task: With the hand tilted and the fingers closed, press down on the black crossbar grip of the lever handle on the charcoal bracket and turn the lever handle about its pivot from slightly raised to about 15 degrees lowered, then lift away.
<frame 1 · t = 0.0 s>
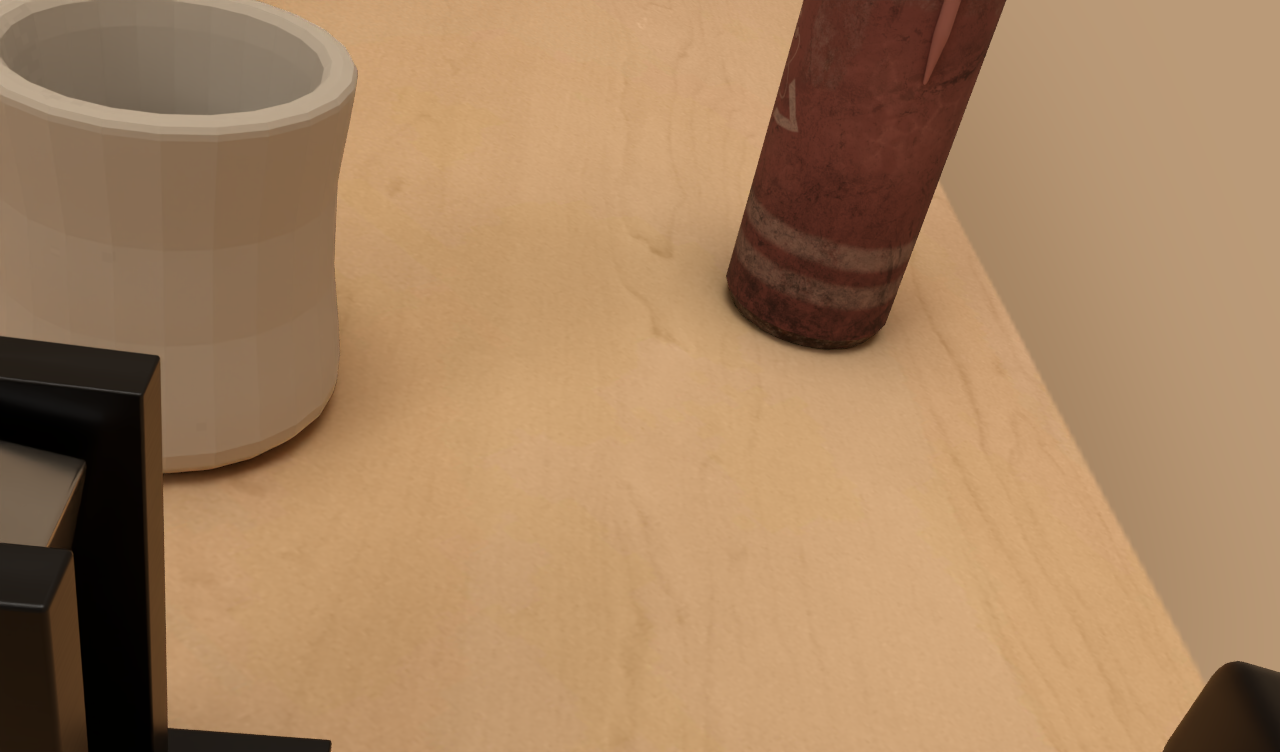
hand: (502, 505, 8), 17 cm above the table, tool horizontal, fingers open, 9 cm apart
mug: (121, 371, 35), on the table
can: (802, 314, 46), on the table
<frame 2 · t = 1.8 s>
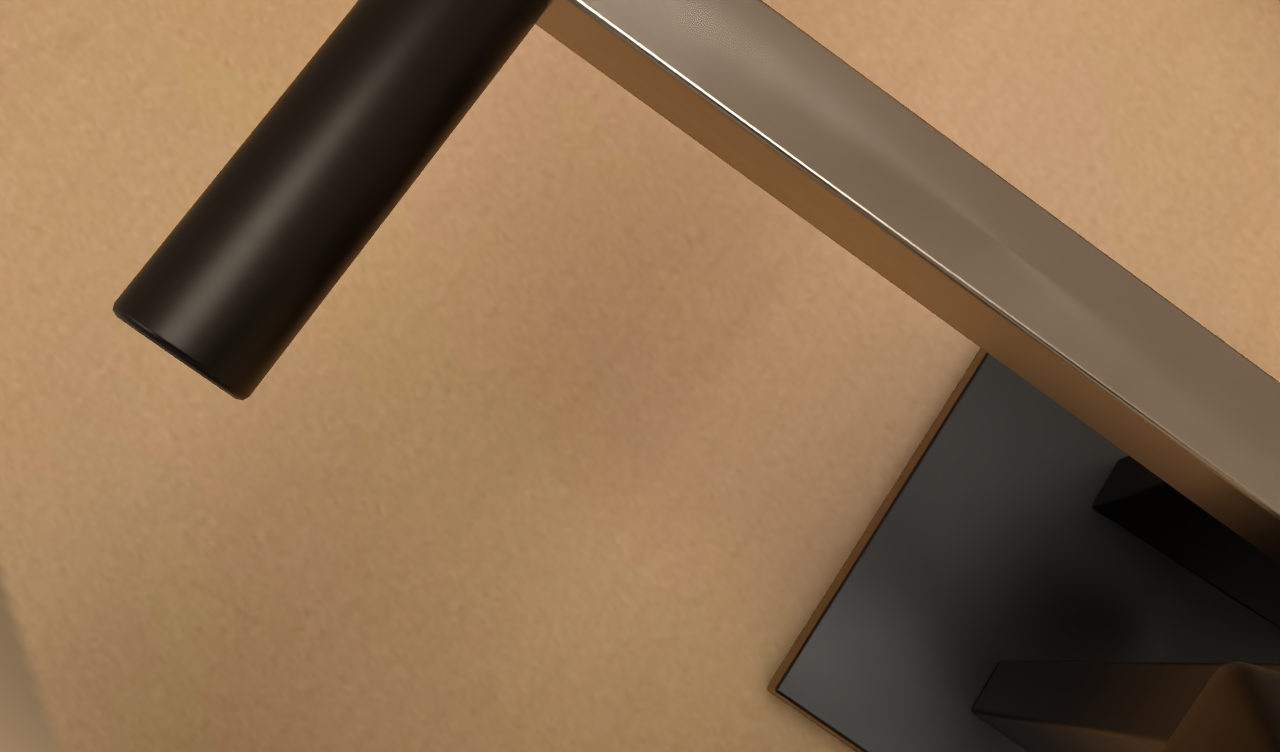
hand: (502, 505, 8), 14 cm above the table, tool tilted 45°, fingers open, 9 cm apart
rod bracket: (1133, 657, 21), on the table
lever handle: (1070, 323, 12), point 10 cm above the table, hinge at 10.0°
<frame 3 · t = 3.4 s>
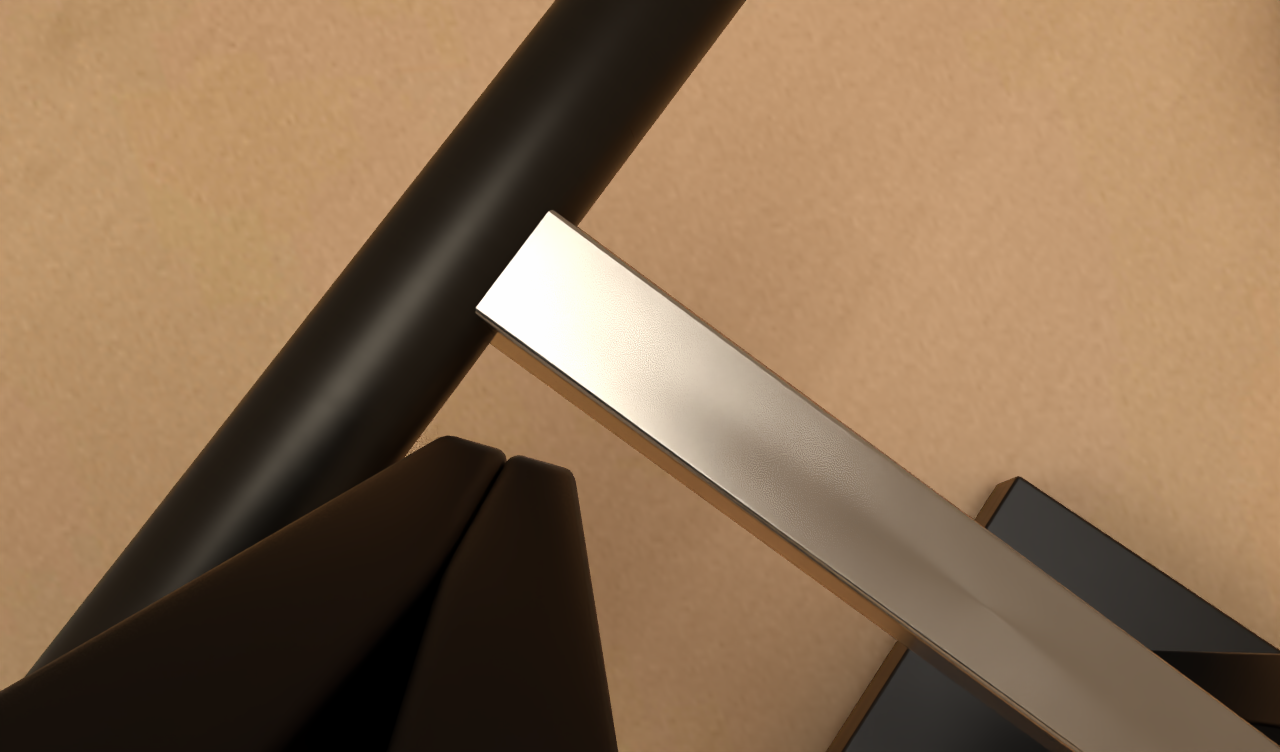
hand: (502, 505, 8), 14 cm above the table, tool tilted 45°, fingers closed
lever handle: (1058, 672, 11), point 10 cm above the table, hinge at 10.0°
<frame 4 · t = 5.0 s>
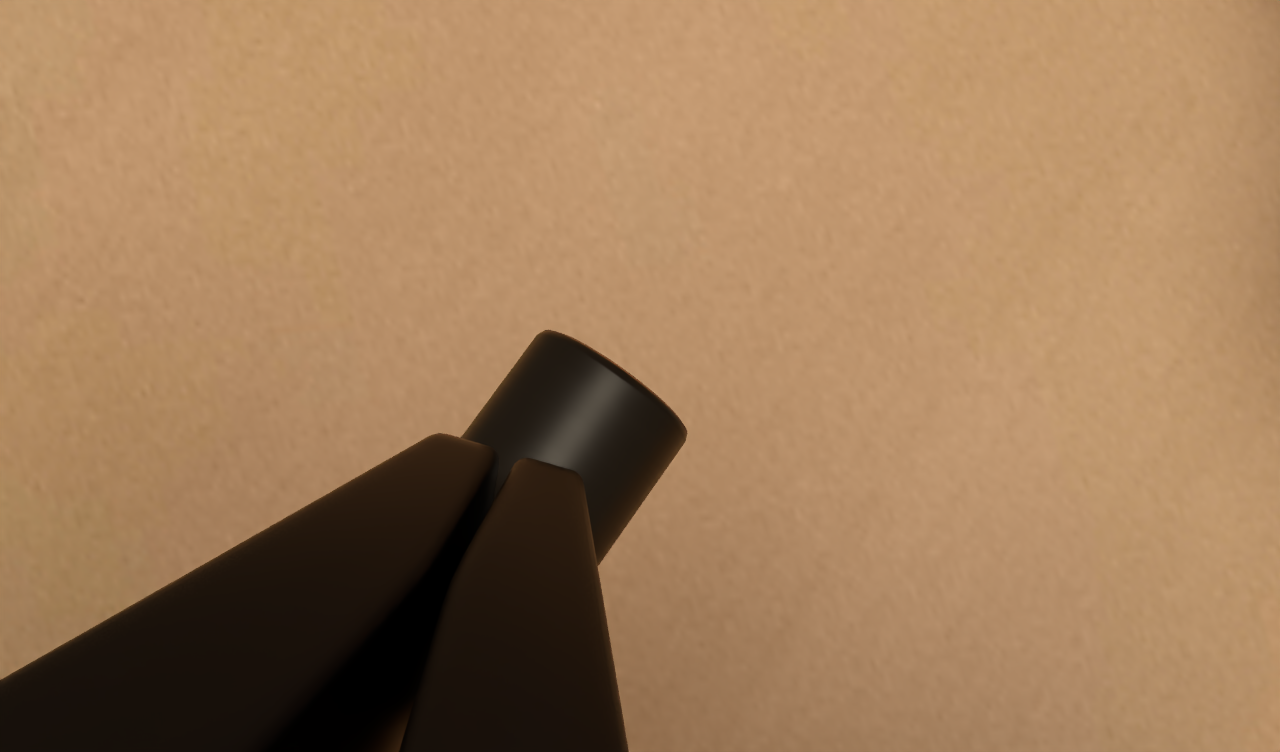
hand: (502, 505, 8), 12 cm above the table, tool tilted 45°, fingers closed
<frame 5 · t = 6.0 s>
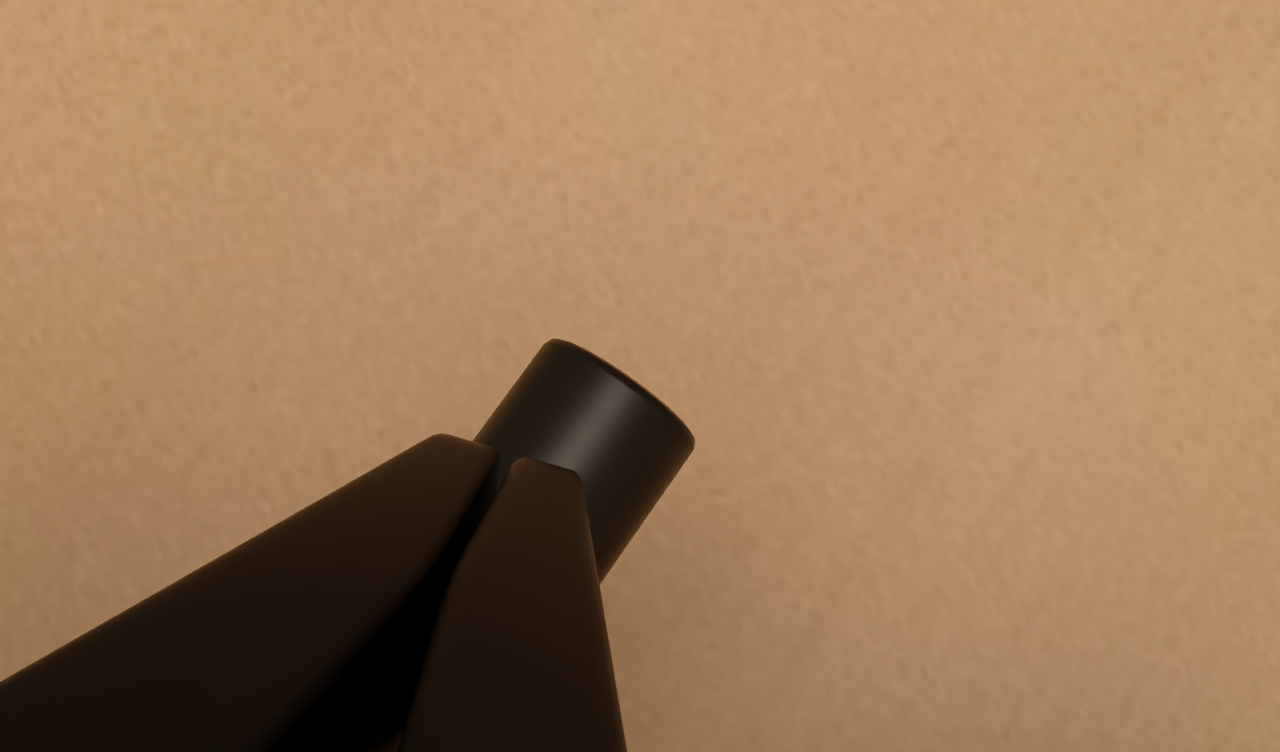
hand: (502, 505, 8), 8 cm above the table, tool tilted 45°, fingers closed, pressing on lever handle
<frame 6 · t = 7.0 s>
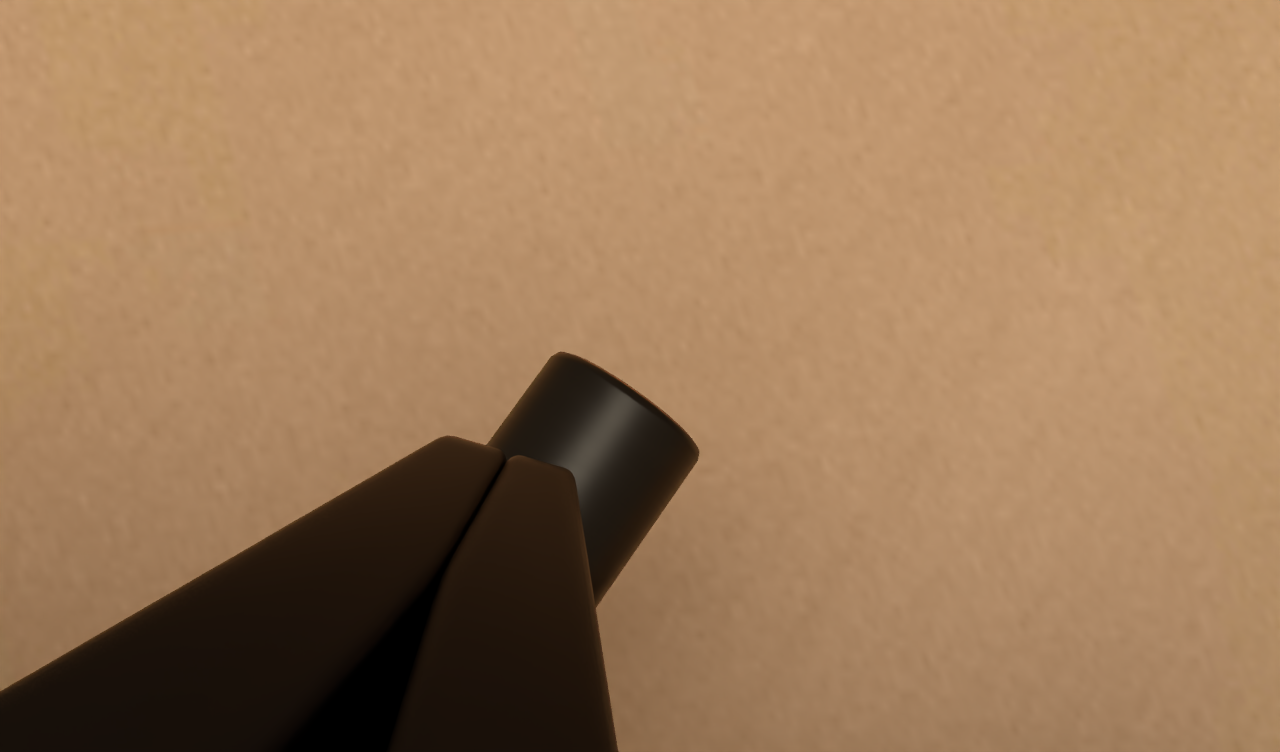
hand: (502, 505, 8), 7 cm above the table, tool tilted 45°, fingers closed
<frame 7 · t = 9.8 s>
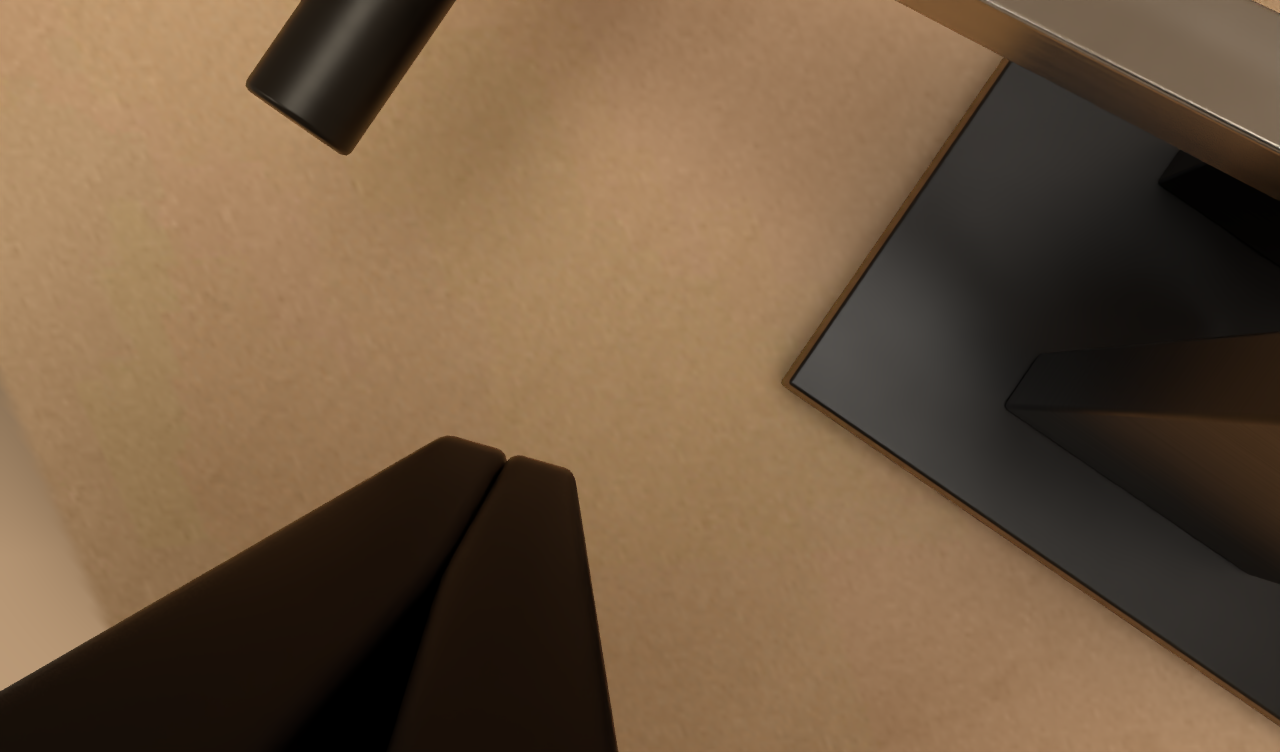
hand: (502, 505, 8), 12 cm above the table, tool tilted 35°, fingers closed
rod bracket: (1186, 353, 19), on the table
lever handle: (1070, 5, 12), point 8 cm above the table, hinge at -17.1°
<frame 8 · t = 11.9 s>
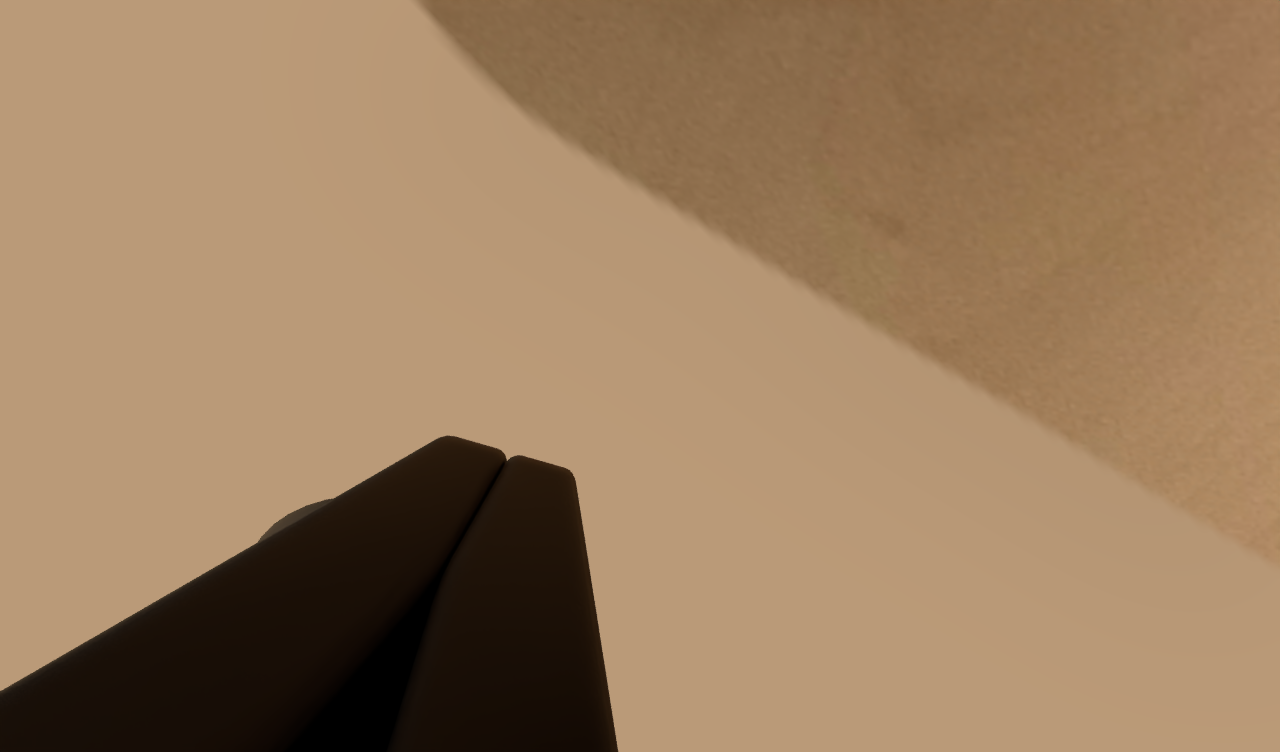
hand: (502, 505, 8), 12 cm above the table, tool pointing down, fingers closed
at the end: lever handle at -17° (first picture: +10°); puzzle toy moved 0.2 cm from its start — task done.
